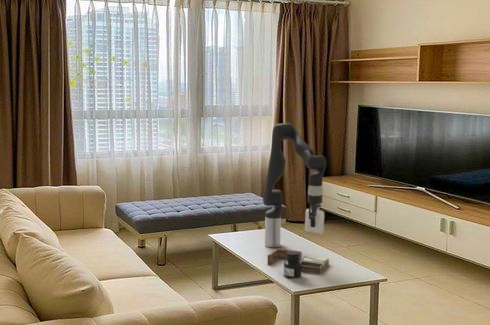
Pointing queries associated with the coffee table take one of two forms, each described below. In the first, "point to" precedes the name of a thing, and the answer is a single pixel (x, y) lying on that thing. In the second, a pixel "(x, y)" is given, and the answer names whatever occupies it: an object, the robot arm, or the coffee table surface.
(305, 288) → the coffee table surface
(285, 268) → the ink bottle
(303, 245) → the coffee table surface
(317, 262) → the two-compartment wooden organizer
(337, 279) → the coffee table surface
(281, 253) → the wooden cubby shelf
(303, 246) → the coffee table surface
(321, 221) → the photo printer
